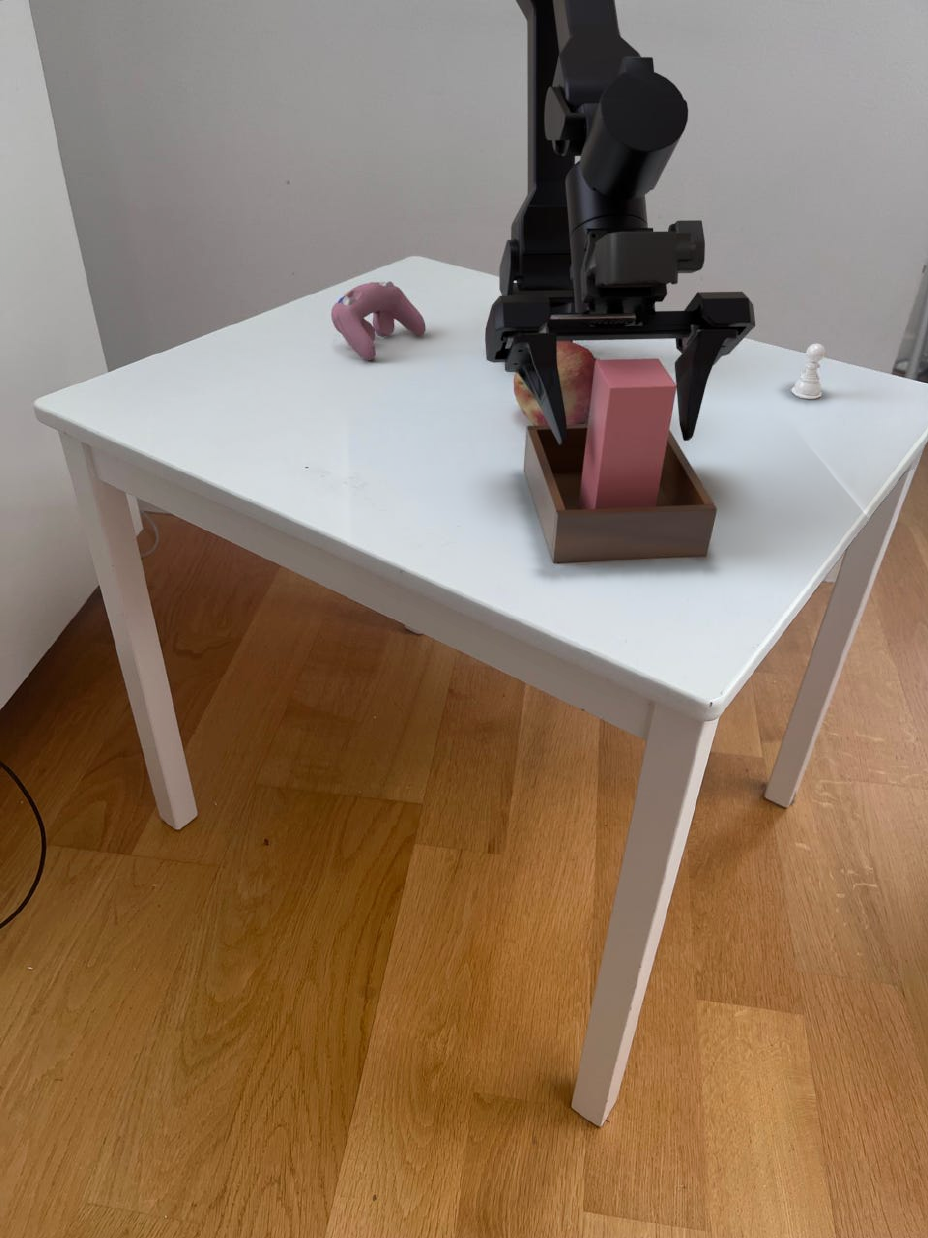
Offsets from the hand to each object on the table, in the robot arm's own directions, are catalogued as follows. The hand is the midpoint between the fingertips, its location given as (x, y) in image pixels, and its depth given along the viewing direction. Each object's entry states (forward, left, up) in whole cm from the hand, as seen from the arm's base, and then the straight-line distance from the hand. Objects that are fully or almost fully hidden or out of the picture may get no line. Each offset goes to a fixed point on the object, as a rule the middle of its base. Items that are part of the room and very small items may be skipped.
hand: (626, 441), depth 68 cm
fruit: (-6, -16, -8) cm, 19 cm away
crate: (-1, -2, -8) cm, 8 cm away
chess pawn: (-32, -10, -8) cm, 35 cm away
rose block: (0, 0, -7) cm, 7 cm away
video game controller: (-1, -41, -8) cm, 42 cm away
